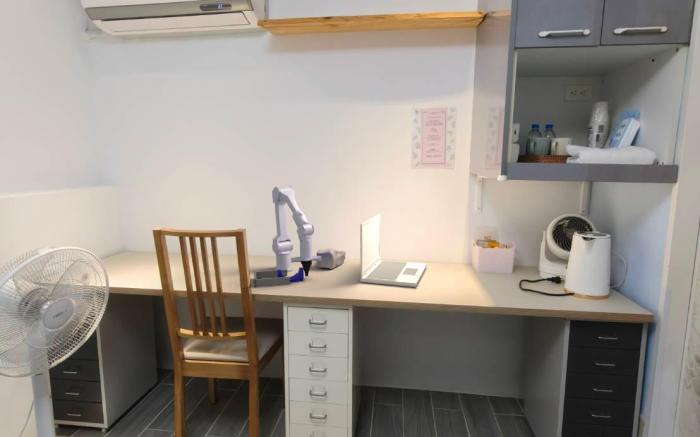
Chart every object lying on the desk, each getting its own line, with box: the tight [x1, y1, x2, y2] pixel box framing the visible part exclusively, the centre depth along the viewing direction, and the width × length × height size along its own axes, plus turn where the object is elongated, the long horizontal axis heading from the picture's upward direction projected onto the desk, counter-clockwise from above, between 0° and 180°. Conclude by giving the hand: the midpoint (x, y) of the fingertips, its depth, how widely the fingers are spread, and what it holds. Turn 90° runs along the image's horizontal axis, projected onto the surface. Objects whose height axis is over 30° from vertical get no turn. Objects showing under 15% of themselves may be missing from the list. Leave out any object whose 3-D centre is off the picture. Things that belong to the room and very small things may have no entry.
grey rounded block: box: [316, 248, 346, 270], centre depth 217 cm, size 13×11×20 cm
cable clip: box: [276, 266, 305, 283], centre depth 190 cm, size 12×4×6 cm, turn 108°
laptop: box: [359, 213, 427, 288], centre depth 197 cm, size 35×26×28 cm
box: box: [253, 269, 291, 288], centre depth 190 cm, size 14×16×4 cm
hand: (306, 275), depth 194 cm, fingers closed
